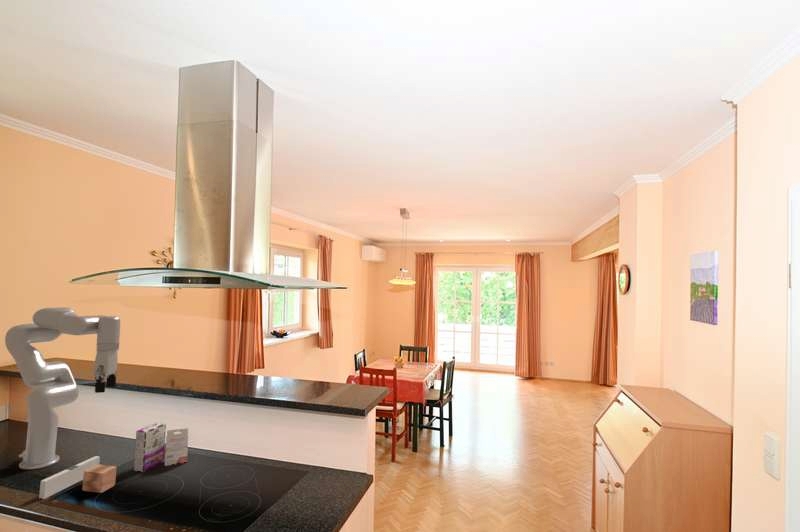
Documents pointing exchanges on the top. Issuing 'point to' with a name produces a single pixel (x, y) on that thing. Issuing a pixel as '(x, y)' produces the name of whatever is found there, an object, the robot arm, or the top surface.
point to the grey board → (66, 477)
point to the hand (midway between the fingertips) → (105, 389)
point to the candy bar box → (149, 446)
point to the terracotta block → (99, 478)
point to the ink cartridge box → (176, 446)
